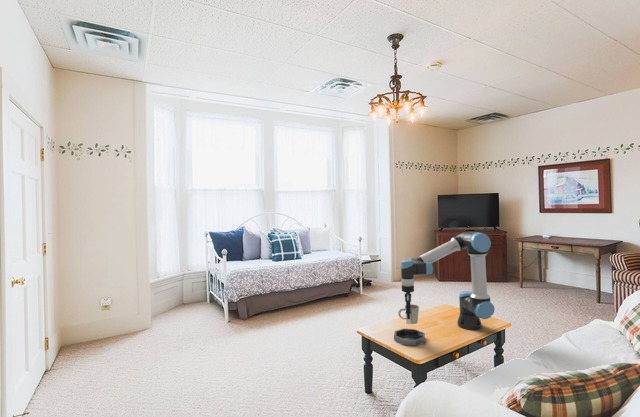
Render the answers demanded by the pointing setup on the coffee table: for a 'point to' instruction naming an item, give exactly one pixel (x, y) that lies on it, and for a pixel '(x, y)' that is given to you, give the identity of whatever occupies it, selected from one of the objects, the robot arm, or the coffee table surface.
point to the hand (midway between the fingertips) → (408, 321)
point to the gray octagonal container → (409, 337)
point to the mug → (414, 313)
